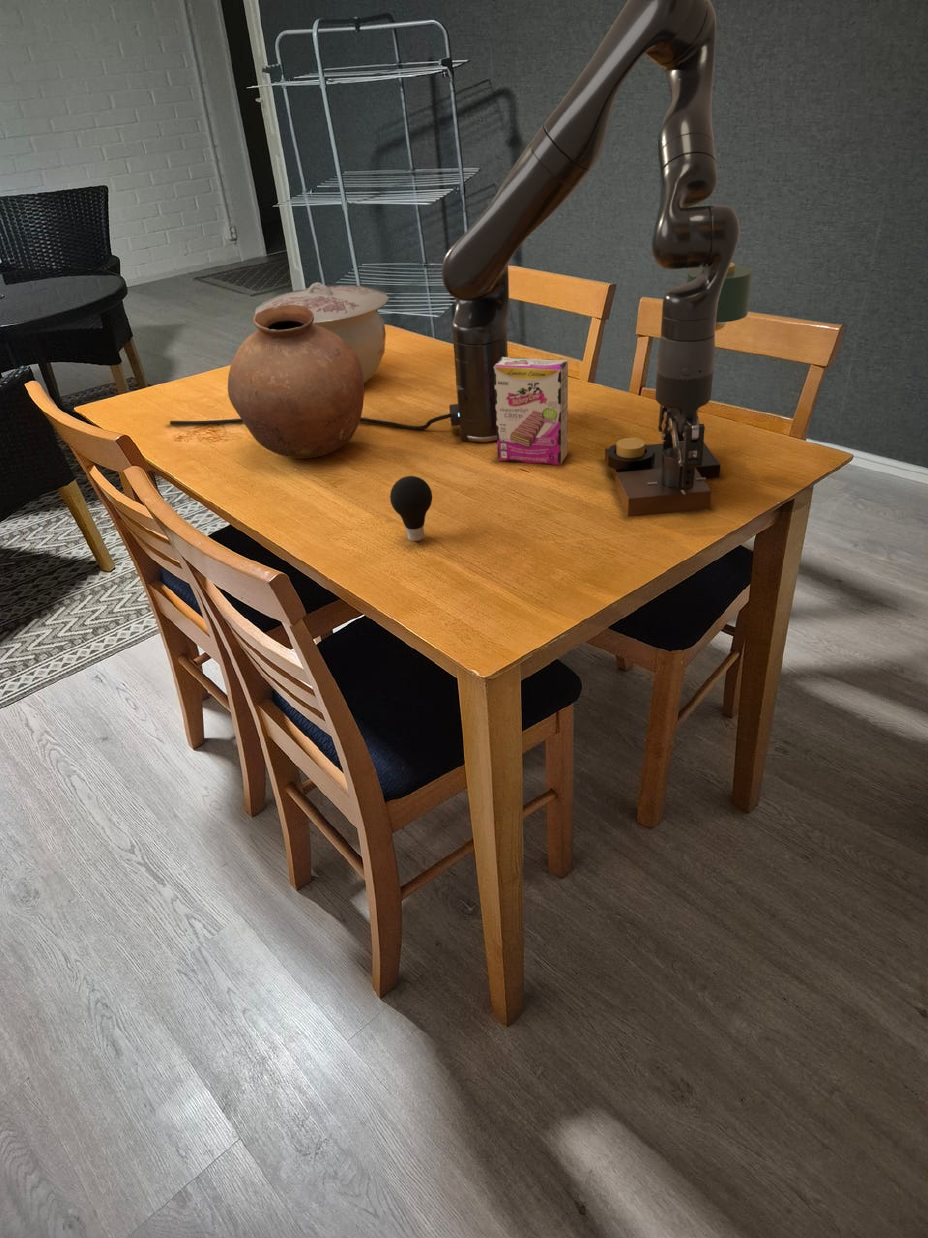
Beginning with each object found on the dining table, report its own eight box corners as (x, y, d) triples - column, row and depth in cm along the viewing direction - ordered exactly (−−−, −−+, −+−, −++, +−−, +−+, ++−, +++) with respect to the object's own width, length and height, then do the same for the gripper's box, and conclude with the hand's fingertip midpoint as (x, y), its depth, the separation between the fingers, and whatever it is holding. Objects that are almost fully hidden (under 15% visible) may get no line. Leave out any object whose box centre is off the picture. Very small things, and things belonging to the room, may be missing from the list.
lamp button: (619, 460, 131) (619, 449, 130) (613, 449, 135) (613, 438, 134) (647, 457, 131) (648, 447, 130) (641, 446, 135) (641, 436, 134)
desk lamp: (684, 448, 132) (698, 274, 117) (669, 427, 139) (680, 260, 125) (741, 443, 132) (762, 268, 117) (723, 422, 139) (741, 254, 125)
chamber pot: (392, 401, 171) (379, 294, 159) (258, 409, 172) (235, 304, 161) (402, 357, 194) (391, 261, 182) (284, 365, 195) (266, 270, 184)
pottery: (307, 419, 166) (282, 285, 152) (398, 439, 154) (381, 296, 140) (218, 463, 151) (181, 320, 137) (311, 489, 139) (282, 335, 125)
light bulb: (395, 533, 124) (387, 471, 119) (435, 529, 125) (429, 467, 119) (396, 553, 120) (387, 489, 114) (437, 549, 120) (431, 484, 114)
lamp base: (611, 487, 132) (612, 463, 129) (599, 461, 140) (600, 438, 138) (719, 477, 132) (721, 453, 130) (700, 452, 140) (702, 429, 138)
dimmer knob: (658, 475, 127) (660, 445, 124) (688, 473, 127) (690, 443, 124) (664, 488, 123) (666, 458, 121) (694, 486, 123) (697, 456, 120)
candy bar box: (496, 462, 143) (491, 365, 133) (505, 450, 146) (501, 355, 137) (561, 467, 139) (561, 368, 130) (568, 454, 143) (568, 358, 134)
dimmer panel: (628, 517, 123) (629, 498, 121) (615, 490, 131) (615, 471, 129) (712, 510, 123) (714, 490, 122) (694, 482, 131) (696, 464, 129)
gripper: (729, 382, 110) (716, 495, 119) (697, 349, 121) (688, 454, 131) (671, 387, 110) (663, 500, 119) (645, 353, 121) (640, 459, 130)
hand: (676, 476), depth 125 cm, fingers open, 8 cm apart
